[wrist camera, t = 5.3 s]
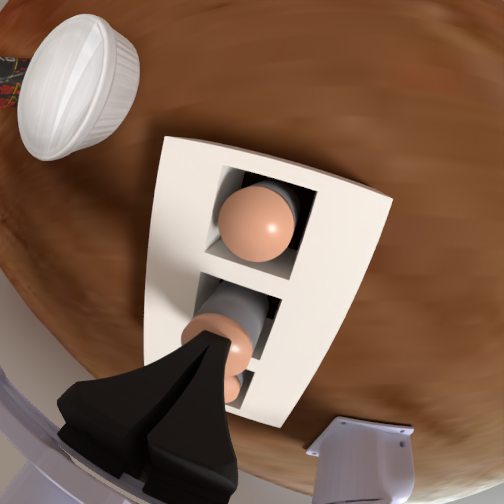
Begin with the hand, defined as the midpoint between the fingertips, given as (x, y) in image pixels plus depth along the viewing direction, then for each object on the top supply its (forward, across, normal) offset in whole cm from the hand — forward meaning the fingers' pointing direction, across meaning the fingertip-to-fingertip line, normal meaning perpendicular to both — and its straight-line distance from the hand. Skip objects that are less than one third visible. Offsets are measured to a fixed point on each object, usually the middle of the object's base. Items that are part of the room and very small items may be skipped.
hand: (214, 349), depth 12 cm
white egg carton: (+7, 0, 0) cm, 7 cm away
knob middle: (+5, 0, 0) cm, 5 cm away
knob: (+7, 0, -6) cm, 9 cm away
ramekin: (+8, +16, -12) cm, 21 cm away
